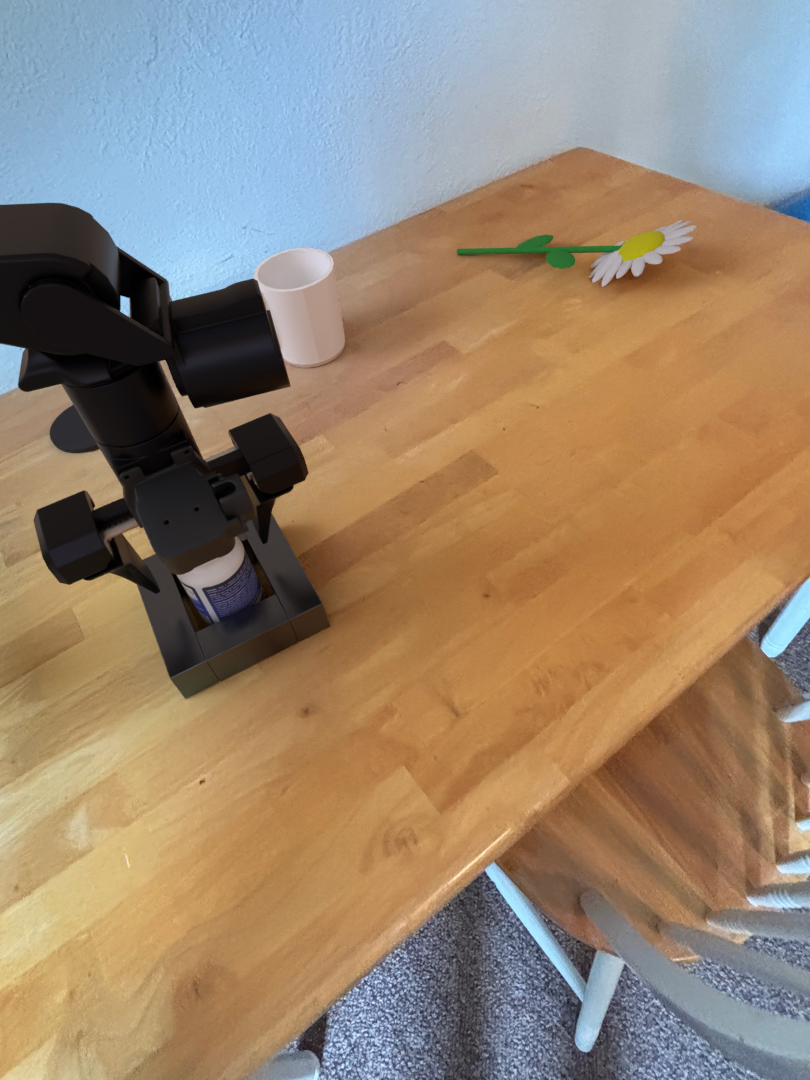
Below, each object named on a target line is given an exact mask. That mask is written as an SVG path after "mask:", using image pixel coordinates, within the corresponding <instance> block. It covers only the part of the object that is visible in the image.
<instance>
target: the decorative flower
mask: <svg viewBox="0 0 810 1080" xmlns="http://www.w3.org/2000/svg"><path fill="white" fill-rule="evenodd" d="M692 222H693V221H692V220H687V221H684V219H680V220H678V221H675V222H674V223H672V224H670V225H669V224H668V225H667V224H666V225H663V226H661V227H658V228H657V229H655V230H647V231H644V232H640V233H637V234H636V235H634V236H632V237H630V238H629V239H627V240H621V241H619V242H617V243H616V244H614V245H575V246H546V245H548V244H550V243H552V241H553V239H554V235H553V234H541V235H536V236H533V237H530V238H528V239H525V240H524V241H522V242H520V243H518V244H517V246H516V247H477V248H475V247H474V248H473V247H471V248H470V247H469V248H457V249H456V255H458V256H463V255H464V256H467V255H469V256H473V255H475V256H477V255H531V254H532V255H535V254H537V255H538V254H539V255H540V254H542V255H543V254H546V255H545V261H546V264H548V265H550V266H551V267H552V268H556V269H559V270H560V269H561V270H563V269H569V268H572V267H573V266H575V263H576V257H575V255H574V254H591V253H592V254H594V253H595V254H599V253H601V255H599V256H598V258H596V259H595V260H594V261H593V263H591V265H590V266H589V268H590V269H591V270H592V269H593V270H592V271H591V272H590V273H589V275H588V279H591V278H592V279H591V280H592V281H591V283H592V284H594V283H597V282H598V281H600V280H601V279H602V280H601V283H600V285H601V287H602V288H604V287H606V286H608V284H610V282H611V281H612V280H613V278H614V277H615V279H621V278H622V277H623V276H624V275H625V274H627V272H628V271H629V270H630V269H631V273H632V275H633V276H634V277H639V276H641V275H642V274H643V272H644V270H645V267H646V264H649V265H659V264H662V262H663V261H664V260H663V256H666V255H673V254H675V253H678V252H680V251H681V250H682V247H680V246H679V245H683V244H686V243H688V242H691V241H692V240H693V239H694V237H693V236H691V235H688V234H690V233H691V232H693V231H695V230H696V228H697V227H698V226H697V225H690V224H691V223H692Z"/></svg>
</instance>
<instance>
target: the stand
mask: <svg viewBox="0 0 810 1080" xmlns="http://www.w3.org/2000/svg"><path fill="white" fill-rule="evenodd" d="M246 525H247V527H248V529H249V531H247V532H244V533H243V534H241V535H239V536H237V537H238V538H239V539H240V541H241V542H242V544H243V546H244V548H245V550H246V553H247V555H248V557H249V559H250V561H251V564H252V566H254V565H256V564H257V565H258V566H259V568H260V570H261V572H262V574H263V576H264V578H265V580H266V582H267V584H268V586H269V588H270V590H271V592H272V593H273V595H271V596H269V597H267V598H265V600H262V601H260V602H258V603H256V604H254V605H252V606H250V607H248V608H246V609H244V610H242V611H240V612H238V613H235V614H233V615H231V616H229V617H227V618H225V619H223V620H221V621H219V622H217V623H215V624H213V625H210V626H208V625H207V626H206V627H204V628H202V629H199V626H198V624H197V621H196V619H195V616H194V614H193V611H192V609H191V606H190V603H189V602H188V599H187V596H189V595H188V594H187V592H186V590H185V589H184V587H183V585H182V584H181V582H180V580H179V579H178V577H177V575H176V574H172V573H171V572H169V571H168V570H167V568H166V567H165V566H164V564H163V563H162V562H161V560H160V559H159V558H158V556H157V555H156V554H155V553H154V554H152V555H150V556H148V557H147V556H146V558H143V559H142V560H143V561H144V563H145V564H146V565H147V566H148V568H149V569H150V571H151V573H152V575H153V576H154V578H155V580H156V582H157V584H158V586H159V589H160V592H159V593H157V594H155V593H153V592H151V591H149V590H147V589H145V588H143V587H141V586H139V585H137V584H136V586H137V589H138V592H139V595H140V598H141V600H142V603H143V606H144V609H145V612H146V615H147V618H148V620H149V623H150V626H151V629H152V632H153V635H154V638H155V640H156V643H157V646H158V649H159V652H160V654H161V658H162V661H163V663H164V666H165V669H166V672H167V675H168V677H169V679H170V681H171V682H172V684H173V685H174V686H175V687H176V689H177V690H178V691H179V694H180V695H181V696H182V697H183V698H184V699H185V700H187V699H189V698H191V697H194V696H195V695H198V694H200V693H202V692H203V691H205V690H207V689H209V688H211V687H213V686H215V685H217V684H219V683H222V682H223V681H225V680H227V679H229V678H232V677H233V676H235V675H238V674H240V673H241V672H243V671H246V670H248V669H249V668H251V667H253V666H255V665H257V664H259V663H261V662H264V661H266V660H267V659H269V658H271V657H273V656H275V655H277V654H279V653H281V652H283V651H285V650H287V649H289V648H291V647H294V646H295V645H297V644H299V643H301V642H303V641H305V640H306V639H309V638H310V637H313V636H314V635H316V634H319V633H321V632H323V631H324V630H326V629H328V628H330V627H332V625H331V623H330V620H329V616H328V613H327V611H326V607H325V605H324V602H323V601H322V599H321V597H320V595H319V594H318V592H317V590H316V588H315V586H314V585H313V583H312V582H311V580H310V578H309V576H308V575H307V573H306V571H305V569H304V567H303V566H302V564H301V562H300V560H299V558H298V557H297V555H296V553H295V552H294V549H293V547H292V546H291V545H290V543H289V541H288V539H287V538H286V535H285V534H284V532H283V530H282V529H281V527H280V525H279V523H278V522H277V520H276V518H275V516H274V514H273V513H272V514H271V521H270V529H269V536H268V542H267V543H266V544H263V543H262V542H261V540H260V538H259V536H258V534H257V531H256V529H255V527H254V525H253V522H252V520H249V521H248V522H247V523H246Z"/></svg>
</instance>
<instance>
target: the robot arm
mask: <svg viewBox="0 0 810 1080" xmlns="http://www.w3.org/2000/svg"><path fill="white" fill-rule="evenodd" d="M170 292H171V291H170V282H169V281H168V279H167V278H165V277H163V276H162V275H160V274H159V272H156V271H155V270H153V269H152V268H150V267H149V266H147V265H146V264H144V263H143V262H141V261H140V260H138V259H137V258H135V257H134V256H132V255H131V254H130V253H128V252H126V251H125V250H123V248H120V247H119V246H117V244H116V243H115V241H114V239H113V238H112V236H111V234H110V233H109V231H108V230H107V229H106V228H105V227H103V226H102V224H101V223H99V222H98V221H97V220H96V219H95V218H94V216H93V215H92V214H91V212H88V211H86V210H84V209H82V208H81V207H78V206H74V205H71V204H68V203H62V202H36V203H35V202H34V203H10V204H9V203H8V204H0V345H5V346H9V347H15V348H21V349H24V350H22V354H21V362H20V367H19V374H18V375H19V376H18V381H17V387H18V389H19V390H20V391H22V392H24V393H29V392H34V391H38V390H42V389H46V388H51V387H54V386H59V385H60V386H61V387H62V388H63V390H64V392H65V393H66V395H67V396H68V398H69V400H70V401H71V403H72V405H74V406H75V408H76V410H77V411H78V413H79V415H80V416H81V418H82V420H83V421H84V423H85V425H86V427H87V428H88V430H89V432H90V433H91V435H92V437H93V438H94V440H95V442H96V443H97V445H98V447H99V450H100V452H101V454H102V455H103V457H104V459H105V460H106V462H107V464H108V465H109V468H110V469H111V470H112V472H113V474H114V476H115V477H116V479H117V480H118V482H119V484H120V485H121V487H122V497H121V498H119V499H117V500H114V501H112V502H109V503H107V504H105V505H103V506H100V507H98V508H96V504H95V501H94V499H93V498H92V497H91V495H90V493H89V492H88V490H84V489H83V490H80V491H78V492H76V493H73V494H71V495H69V496H67V497H64V498H61V499H59V500H56V501H55V502H52V503H49V504H47V505H44V506H42V507H40V508H37V509H36V511H35V514H34V518H33V519H32V520H33V524H34V525H33V526H34V529H35V533H36V536H37V541H38V543H39V544H38V545H39V549H40V553H41V557H42V559H43V561H44V563H45V565H46V568H47V569H48V570H49V571H50V573H51V574H52V575H53V577H54V578H55V579H56V580H57V581H58V582H59V584H62V585H63V584H64V585H69V586H70V585H72V584H75V583H77V582H79V581H81V580H84V581H87V582H92V581H95V580H96V579H98V578H100V577H102V576H105V575H107V574H111V575H115V576H118V577H121V578H123V579H126V580H127V581H129V582H132V583H133V584H136V586H137V585H139V586H141V587H143V588H145V589H147V590H149V591H151V592H153V593H155V594H157V593H159V592H160V589H159V586H158V584H157V582H156V580H155V578H154V576H153V575H152V573H151V571H150V569H149V568H148V566H147V565H146V564H145V563H144V561H143V559H142V557H141V556H140V555H139V554H138V552H137V550H136V549H135V548H134V547H133V546H132V543H130V542H129V540H128V539H127V538H126V537H125V535H124V534H125V533H126V532H129V531H131V530H134V529H136V528H138V527H139V529H143V530H144V532H145V535H146V537H147V539H148V541H149V543H150V546H151V549H152V550H153V552H154V554H156V555H157V556H158V558H159V559H160V560H161V562H162V563H163V564H164V566H165V567H166V568H167V570H168V571H169V572H171V573H172V574H176V575H182V574H185V573H188V572H190V571H192V570H193V569H194V568H196V567H198V566H200V565H202V564H205V563H207V562H209V561H211V560H213V559H216V558H219V557H223V556H225V555H227V554H229V553H230V552H231V551H232V550H233V548H234V546H235V537H236V536H239V535H241V534H243V533H244V532H247V531H249V529H248V527H247V525H246V523H247V522H248V521H249V520H252V522H253V525H254V527H255V529H256V531H257V534H258V536H259V538H260V540H261V542H262V543H263V544H266V543H267V542H268V536H269V529H270V521H271V514H273V509H274V505H275V503H276V500H277V499H278V498H280V497H282V496H284V495H287V494H289V493H291V492H292V491H293V489H294V487H295V485H297V484H299V483H303V482H305V480H306V479H307V477H308V476H309V474H310V473H309V469H308V465H307V462H306V459H305V455H304V454H303V452H302V449H301V447H300V446H299V444H298V443H297V441H296V440H295V438H294V436H293V434H292V433H291V432H290V431H289V429H288V428H287V426H286V424H285V423H284V421H283V420H282V419H281V417H280V416H278V415H276V414H273V413H272V412H268V413H266V414H264V415H262V416H259V417H257V418H255V419H252V420H250V421H248V422H245V423H243V424H239V425H238V426H235V427H232V428H230V429H228V430H227V431H228V436H229V438H230V440H231V443H232V445H233V446H232V447H230V448H227V449H226V450H223V451H221V452H218V453H215V454H213V455H211V456H208V457H206V458H204V457H203V454H202V453H201V451H200V449H199V448H200V447H198V444H197V442H196V439H195V438H194V435H193V433H192V431H191V428H190V425H189V424H188V422H187V419H186V417H185V415H184V413H183V410H182V409H181V406H180V403H179V401H178V399H177V397H176V395H175V393H174V389H173V388H172V386H171V383H170V381H169V380H168V377H167V375H166V373H165V370H164V368H163V366H162V364H161V362H162V361H165V362H166V365H167V368H168V370H169V373H170V376H171V378H172V381H173V383H174V386H175V388H176V390H177V392H178V393H179V395H180V396H181V397H186V396H187V398H188V400H189V402H190V404H191V406H192V407H193V408H194V409H200V408H204V409H207V408H212V407H215V406H218V405H219V406H220V405H223V404H227V403H231V402H235V401H239V400H243V399H247V398H251V397H256V396H258V395H262V394H267V393H271V392H274V391H275V392H276V391H279V390H282V389H287V388H291V382H290V378H289V373H288V370H287V366H286V361H284V359H283V355H282V352H281V348H280V344H279V341H278V337H277V334H276V330H275V326H274V323H273V319H272V316H271V312H270V310H266V306H265V303H264V300H263V297H262V294H261V291H260V287H259V284H258V281H257V280H255V279H254V278H249V279H245V280H241V281H237V282H234V283H232V284H229V285H228V286H225V287H224V288H221V289H217V290H212V291H208V292H204V293H199V294H195V295H192V296H188V297H183V298H179V299H174V300H173V299H172V297H171V293H170ZM122 297H123V298H127V299H129V316H128V315H127V314H125V313H124V312H122V311H121V305H122V304H121V303H122V301H121V299H122Z"/></svg>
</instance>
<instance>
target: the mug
mask: <svg viewBox="0 0 810 1080" xmlns="http://www.w3.org/2000/svg"><path fill="white" fill-rule="evenodd" d="M336 276H337V275H336V269H335V263H334V259H333V257H332V256H331V255H330V254H329V253H328V252H326V251H324V250H321V249H318V248H313V247H298V248H297V247H296V248H291V249H285V250H283V251H280V252H277V253H274V254H272V255H271V256H268V257H267V258H265V259H264V260H262V261H261V262H260V263H259V264H258V265H257V267H256V268H255V270H254V273H253V279H255V280H257V281H258V284H259V287H260V291H261V294H262V297H263V300H264V303H265V306H266V310H270V312H271V316H272V319H273V323H274V326H275V330H276V334H277V337H278V341H279V344H280V348H281V352H282V355H283V359H284V362H285V363H286V364H288V365H290V366H293V367H295V368H300V369H301V368H302V369H309V368H315V367H316V368H317V367H322V366H323V365H327V364H329V363H330V362H333V361H334V360H336V359H337V358H338V357H339V356H340V355H342V353H343V351H344V349H345V346H346V343H347V342H346V335H345V328H344V321H343V316H342V309H341V301H340V297H339V289H338V281H337V277H336Z"/></svg>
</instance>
